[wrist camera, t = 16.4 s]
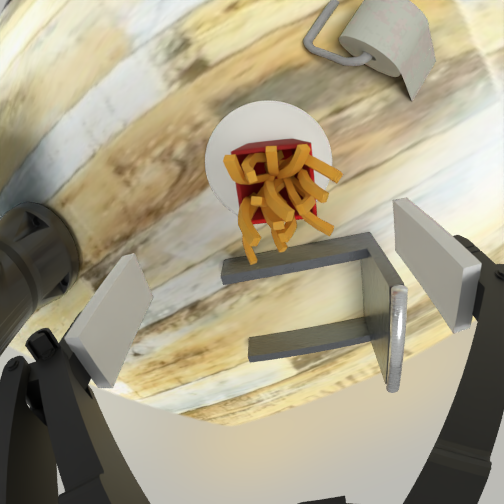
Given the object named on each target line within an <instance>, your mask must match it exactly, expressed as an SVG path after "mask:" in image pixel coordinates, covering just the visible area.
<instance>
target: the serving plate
mask: <svg viewBox="0 0 504 504" xmlns="http://www.w3.org/2000/svg"><path fill="white" fill-rule="evenodd" d="M292 138H293V139H298V140H302V141H307V142H311V145H312V156H313V157H316V158H317V159H319V160H321V161H323V162H325V163H327V164H328V165H330V166H332V153H331V148H330V144H329V142H328V139H327V137H326V135H325V133H324V131H323V129H322V128H321V127H320V125H319V124H318V123H317V122H316V121H315V120H314V119H313V118H312V117H311V116H310V115H309V114H307V113H306V112H305V111H303V110H301V109H300V108H298V107H296V106H293V105H291V104H288V103H284V102H280V101H257V102H252V103H249V104H246V105H243V106H241V107H239V108H237V109H235V110H234V111H232V112H230V113H229V114H228V115H227V116H226V117H224V118H223V119H222V121H221V122H220V123H219V124H218V125H217V127H216V128H215V129H214V131H213V133H212V135H211V137H210V139H209V142H208V145H207V149H206V154H205V169H206V174H207V179H208V181H209V184H210V186H211V188H212V190H213V192H214V194H215V195H216V197H217V198H218V199H219V200H220V202H221V203H222V204H223V205H224V206H225V207H227V208H228V209H229V210H230V211H232V212H233V213H235V214H236V215H238V213H239V203H238V196H237V190H236V184H235V181H233V180H232V179H231V177H230V175H229V173H228V171H227V169H226V167H225V165H224V162H223V159H224V156H225V155H231V151H233V150H235V149H237V148H239V147H241V146H243V145H245V144H247V143H254V142H262V141H271V140H281V139H292ZM314 180H315V184H317V185H318V186H319V187H321V188H322V189H324V190H326V187H327V185H328V183H329V180H330V179H329V178H327V177H325V176H324V175H322V174H320V173H318V172H317V171H315V170H314ZM317 201H318V200H317V199H316V202H317Z"/></svg>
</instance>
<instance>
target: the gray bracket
mask: <svg viewBox="0 0 504 504" xmlns="http://www.w3.org/2000/svg"><path fill="white" fill-rule="evenodd" d="M255 256H256V258H257V263H255V264H252V265H250V263H249V260H248V258H247V256H242V257H237V258H232V259H227V260H224V264H223V268H222V273H221V279H222V282H223V285H226V284H232V283H237V282H243V281H249V280H254V279H260V278H265V277H271V276H276V275H282V274H287V273H292V272H298V271H303V270H308V269H313V268H318V267H324V266H329V265H334V264H339V263H344V262H349V261H354V260H359V259H361V270H362V285H363V303H364V317H361V318H357V319H352V320H347V321H342V322H337V323H332V324H327V325H322V326H316V327H311V328H305V329H300V330H294V331H288V332H282V333H276V334H270V335H264V336H257V337H250V338H249V347H248V359H249V361H250V362H257V361H265V360H272V359H278V358H285V357H291V356H297V355H303V354H309V353H315V352H320V351H325V350H331V349H336V348H341V347H346V346H351V345H355V344H360V343H364V342H369V341H371V343H372V346H373V349H374V352H375V355H376V358H377V360H378V363H379V366H380V369H381V372H382V375H383V378H384V382H385V384H387V386H386V389H387V391H388V392H391V393H394V392H397V391H398V390H399V386H400V378H401V371H402V362H403V353H404V343H405V331H406V317H407V299H408V288H407V287H406V286H404V283H403V281H402V280H401V278H400V277H399V275H398V273H397V272H396V270H395V269H394V267H393V266H392V264H391V263H390V261H389V260H388V258H387V257H386V255H385V254H384V252H383V251H382V249H381V248H380V246H379V245H378V243H377V242H376V240H375V239H374V237H373V236H372V234H371V233H370V232H367V233H362V234H357V235H351V236H346V237H341V238H336V239H331V240H326V241H320V242H315V243H310V244H305V245H300V246H295V247H289V248H287V249H286V250H285V251H284V252H279V251H278V250H274V251H269V252H263V253H258V254H255Z"/></svg>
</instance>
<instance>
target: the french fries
mask: <svg viewBox="0 0 504 504" xmlns="http://www.w3.org/2000/svg"><path fill="white" fill-rule="evenodd" d="M223 162H224V165H225V167H226V169H227V171H228V173H229V175H230V177H231V179H232V180H233V181H235V184H236V190H237V196H238V203H239V213H238V225H239V227H240V229H241V232H242V234H243V238H242V242H243V246H244V249H245V253H246V256H247V258H248V260H249V263H250V265H252V264H255V263H257V258H256V256H255V253H254V251H253V249H252V246H257V245H258V243H259V241H260V239H261V236H260V235H259V233H258V232H257V231H256V229H255V228H254V226H253V224H260V223H267V224H268V225H269V226H270V228H271V233H272V236H273V239H274V242H275V245H276V247H277V249H278V251H279V252H284V251H285V250H286V249H287V248H288V247H287V245H286V243H285V242H288V241H289V240H290V238H291V237H292V235H293V234H294V232H295V230H296V228H297V223H296V220H299V219H304V220H305V221H306V222H307V223H309V224H310V225H312V226H313V227H314V228H316V229H317V230H319V231H321V232H323V233H325V234H326V235H328V236H330V235H331V233H332V232H333V229H334V226H333V225H331V224H329V223H327V222H325V221H323V220H321V219H320V218H318V217H317V209H316V199H317V200H318V201H319V202H321V203H323V202H326V201H327V198H328V195H329V193H328V192H327V191H325V190H324V189H322V188H321V187H319V186H318V185H317V184H315V180H314V170H315V171H317V172H318V173H320V174H322V175H324V176H325V177H327V178H329V179H330V180H332V181H334V182H335V183H338V181H339V180H340V178H341V177H342V175H343V174H342V173H341V172H340V171H339V170H337V169H335V168H334V167H332V166H330V165H328V164H327V163H325V162H323V161H321V160H319V159H317V158H316V157H313V156H312V145H311V142H307V141H302V140H298V139H293V138H292V139H281V140H271V141H262V142H254V143H247V144H245V145H243V146H241V147H239V148H237V149H235V150H233V151H231V155H225V156H224V159H223ZM284 221H285V222H286V224H285V225H284Z"/></svg>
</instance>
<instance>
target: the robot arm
mask: <svg viewBox="0 0 504 504" xmlns="http://www.w3.org/2000/svg"><path fill="white" fill-rule="evenodd" d="M393 211H394V229H395V251H396V252H397V253H398V255H399V256H400V257H401V259H402V260H403V261H404V263H405V264H406V265H407V267H408V268H409V269H410V271H411V272H412V274H413V275H414V276H415V278H416V279H417V280H418V282H419V283H420V285H421V286H422V288H423V289H424V290H425V292H426V293H427V295H428V296H429V298H430V299H431V300H432V302H433V303H434V305H435V306H436V308H437V309H438V311H439V312H440V314H441V315H442V317H443V318H444V320H445V321H446V323H447V325H448V326H449V328H450V329H451V331H452V332H453V333H456V332H460V331H462V330H465V329H468V328H470V326H471V321H472V317H473V316H474V317H475V318H476V320H477V321H478V323H477V327H476V331H475V335H474V338H473V342H472V346H471V349H470V353H469V356H468V360H467V363H466V366H465V369H464V372H463V375H462V378H461V381H460V384H459V387H458V390H457V392H456V395H455V398H454V401H453V403H452V406H451V408H450V411H449V413H448V416H447V418H446V420H445V423H444V425H443V428H442V430H441V432H440V435H439V437H438V439H437V441H436V443H435V445H434V447H433V449H432V451H431V453H430V455H429V458H428V459H427V462H426V463H425V465H424V467H423V469H422V471H421V473H420V475H419V477H418V478H417V480H416V482H415V484H414V486H413V488H412V489H411V491H410V493H409V494H408V496H407V498H406V499H405V501H404V503H403V504H477V503H478V501H479V499H480V496H481V494H482V492H483V489H484V487H485V484H486V482H487V479H488V476H489V473H490V470H491V465H492V463H491V462H490V456H491V453H492V450H493V446H494V443H495V440H496V437H497V433H498V430H499V427H500V423H501V419H502V415H503V411H504V264H497V265H496V264H495V263H494V262H493V261H492V260H490V259H489V258H488V257H487V256H486V255H485V254H484V253H483V252H482V251H480V249H478V248H477V247H476V246H475V245H474V244H473V243H472V242H470V241H469V240H468V239H466V238H464V237H462V236H460V235H455V236H452V235H451V234H450V233H448V232H447V231H446V230H445V229H444V228H443V227H442V226H440V225H439V224H438V223H437V222H436V221H435V220H433V219H432V218H431V217H430V216H429V215H427V214H426V213H425V212H424V211H423V210H421V209H420V208H419V207H418V206H417V205H415V204H414V203H413V202H412V201H410V200H409V199H408V198H401V199H396V200H393ZM78 270H79V260H78V253H77V249H76V246H75V243H74V240H73V238H72V236H71V234H70V232H69V231H68V229H67V227H66V226H65V225H64V223H63V222H62V221H61V220H60V218H59V217H58V216H57V215H56V214H54V213H53V212H52V211H51V210H49V209H48V208H46V207H44V206H42V205H40V204H37V203H32V202H26V203H22V204H19V205H17V206H16V207H14V208H12V209H11V210H9V211H8V212H7V213H6V214H5V215H4V216H3V217H2V218H1V220H0V356H1V354H2V353H3V352H4V350H5V349H6V348H7V346H8V345H9V343H10V342H11V341H12V339H13V338H14V337H15V335H16V334H17V333H18V332H19V330H20V329H21V328H22V326H23V325H24V324H25V323H26V321H27V320H28V319H29V317H30V316H31V315H32V314H33V313H34V311H35V310H36V309H38V308H41V307H43V306H45V305H47V304H49V303H51V302H53V301H55V300H57V299H59V298H61V297H62V296H63V295H65V294H66V293H67V291H68V290H69V289H70V288H71V287H72V285H73V284H74V283H75V281H76V278H77V275H78ZM152 299H153V295H152V292H151V290H150V288H149V286H148V283H147V281H146V279H145V276H144V274H143V272H142V269H141V267H140V265H139V262H138V260H137V257H136V255H135V253H133V254H129V255H124V256H122V257H121V259H120V260H119V261H118V263H117V264H116V265H115V267H114V268H113V269H112V271H111V272H110V273H109V275H108V276H107V277H106V279H105V280H104V281H103V283H102V284H101V285H100V287H99V288H98V290H97V291H96V292H95V294H94V295H93V297H92V298H91V299H90V301H89V302H88V304H87V305H86V307H85V308H84V309H83V310H82V311H81V312H80V313H79V314H78V316H77V317H76V318H75V320H74V322H73V323H72V324H71V326H70V328H69V329H68V330H67V332H66V333H65V335H64V336H63V338H62V339H61V341H60V342H59V343H58V341H57V340H56V338H55V337H54V335H53V334H52V332H51V330H50V329H49V328H43V329H40V330H38V331H36V332H35V333H33V334H32V335H31V336H30V337H29V338H28V340H27V341H26V345H25V346H26V347H27V349H28V350H29V352H30V353H31V354H32V356H33V357H34V359H35V360H36V362H33V363H30V364H28V363H27V361H26V360H25V359H24V357H23V356H17V357H14V358H12V359H10V360H9V361H8V362H7V364H6V365H5V367H4V369H3V372H2V376H1V379H0V504H150V502H149V501H148V499H147V497H146V496H145V494H144V493H143V491H142V489H141V487H140V486H139V484H138V483H137V481H136V479H135V477H134V476H133V474H132V472H131V470H130V468H129V467H128V465H127V463H126V461H125V459H124V457H123V455H122V453H121V451H120V450H119V448H118V446H117V444H116V442H115V440H114V438H113V436H112V434H111V431H110V430H109V427H108V425H107V423H106V421H105V419H104V416H103V414H102V412H101V410H100V407H99V405H98V403H97V400H96V398H95V396H94V393H93V391H92V389H91V388H90V387H89V385H88V384H89V382H90V380H91V379H92V380H93V381H94V383H95V384H96V385H97V387H98V388H113V386H114V384H115V381H116V379H117V377H118V374H119V372H120V370H121V367H122V365H123V363H124V360H125V358H126V356H127V354H128V351H129V349H130V347H131V344H132V342H133V340H134V338H135V336H136V333H137V331H138V329H139V327H140V325H141V322H142V320H143V318H144V316H145V314H146V312H147V310H148V307H149V305H150V303H151V301H152ZM27 404H28V405H29V406H30V408H29V407H28V405H27ZM56 463H57V465H56ZM56 466H58V470H59V473H60V476H61V479H62V482H63V485H64V488H65V492H64V493H62V494H60V495H59V497H58V486H57V468H56ZM298 504H351V503H346V499H345V496H340V497H335V498H328V499H322V500H315V501H307V502H301V503H298Z"/></svg>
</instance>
